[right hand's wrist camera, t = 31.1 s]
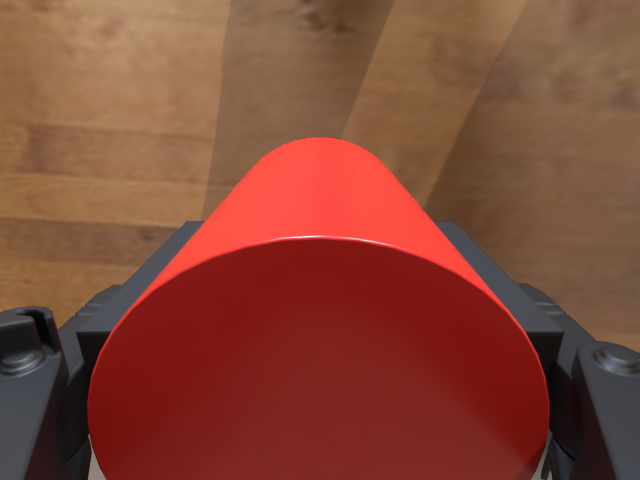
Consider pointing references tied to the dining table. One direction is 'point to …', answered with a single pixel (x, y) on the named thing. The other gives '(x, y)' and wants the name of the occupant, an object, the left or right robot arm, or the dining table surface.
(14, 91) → the dining table surface
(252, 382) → the tin
